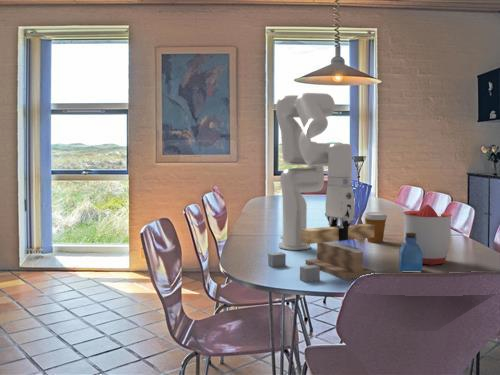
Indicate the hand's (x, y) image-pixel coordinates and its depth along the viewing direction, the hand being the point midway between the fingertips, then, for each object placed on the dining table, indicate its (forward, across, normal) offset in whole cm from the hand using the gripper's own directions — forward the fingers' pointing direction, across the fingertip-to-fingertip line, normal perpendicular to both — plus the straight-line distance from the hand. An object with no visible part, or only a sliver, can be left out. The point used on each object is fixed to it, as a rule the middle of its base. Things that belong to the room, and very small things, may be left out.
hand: (338, 238), depth 150 cm
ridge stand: (+10, 0, 0) cm, 10 cm away
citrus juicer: (+10, -4, -35) cm, 37 cm away
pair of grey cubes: (+10, +4, +15) cm, 19 cm away
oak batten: (0, 0, 0) cm, 0 cm away
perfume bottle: (+10, -11, -20) cm, 25 cm away
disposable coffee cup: (+10, +32, -43) cm, 55 cm away
